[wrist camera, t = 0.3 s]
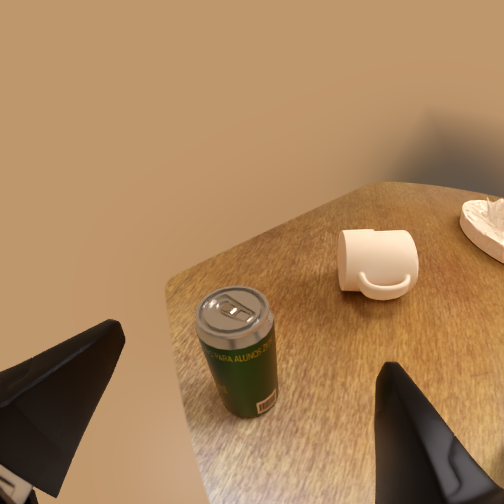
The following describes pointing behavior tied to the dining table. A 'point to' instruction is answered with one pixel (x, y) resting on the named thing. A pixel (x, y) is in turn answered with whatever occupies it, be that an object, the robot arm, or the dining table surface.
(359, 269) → the mug
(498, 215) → the cake
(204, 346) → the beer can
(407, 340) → the dining table surface
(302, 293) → the dining table surface
